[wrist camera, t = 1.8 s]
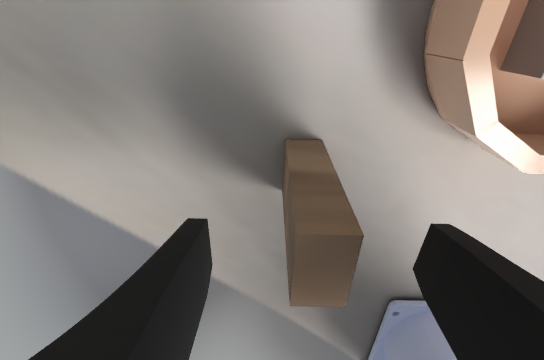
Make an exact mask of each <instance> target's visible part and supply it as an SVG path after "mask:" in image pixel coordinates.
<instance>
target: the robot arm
mask: <svg viewBox="0 0 544 360" xmlns="http://www.w3.org/2000/svg"><path fill="white" fill-rule="evenodd" d="M211 270H212V257H211V248H210V238H209V229H208V220H207V219H194V218H188V219H187V220H186V221H185V222H184V223H183V224H182V225H181V226H180V227H179V228H178V229H177V230H176V231H175V233H174V234H173V235H172V236H171V237H170V238H169V239H168V240H167V241H166V242H165V243H164V244H163V245H162V246H161V247H160V248H159V249H158V250H157V251H156V252H155V253H154V254H153V256H152V257H150V259H148V260H147V261H146V263H144V264H143V265H142V267H140V268H139V269H138V270H137V271H136V272H135V273H134V274H133V275H132V276H131V277H130V278H129V279H128V280H127V281H125V282H124V283H123V284H122V285H121V286H120V287H119V288H118V289H117V290H116V291H115V292H114V293H112V294H111V295H110V296H109V297H108V298H107V299H106V300H105V301H103V302H102V303H101V304H100V305H99V306H98V307H96V308H95V309H94V310H93V311H91V312H90V313H89V314H88V315H87V316H85V317H84V318H83V319H82V320H80V321H79V322H78V323H77V324H75V325H74V326H73V327H72V328H70V329H69V330H68V331H67V332H66V333H64V334H63V335H61V336H60V337H59V338H57V339H56V340H55V341H54V342H52V343H51V344H49V345H48V346H46V347H45V348H44V349H43V350H41V351H40V352H38V353H37V354H35V355H34V356H33V357H31V358H30V359H29V360H189V357H190V353H191V350H192V346H193V343H194V339H195V336H196V332H197V329H198V326H199V322H200V319H201V315H202V312H203V308H204V305H205V301H206V298H207V293H208V288H209V282H210V276H211ZM413 271H414V274H415V276H416V279H417V282H418V285H419V287H420V290H421V292H422V294H423V297H424V299H425V301H409V300H395V301H392V302H390V303H389V305H388V308H387V310H386V313H385V316H384V318H383V321H382V324H381V326H380V329H379V332H378V334H377V337H376V340H375V342H374V345H373V348H372V350H371V353H370V356H369V358H368V360H544V282H543V281H542V280H540V279H538V278H537V277H535V276H534V275H532V274H530V273H529V272H527V271H525V270H524V269H522V268H521V267H519V266H517V265H516V264H514V263H513V262H511V261H509V260H508V259H506V258H505V257H503V256H502V255H500V254H498V253H497V252H495V251H494V250H492V249H490V248H489V247H487V246H486V245H484V244H483V243H481V242H479V241H478V240H476V239H474V238H473V237H471V236H470V235H468V234H466V233H465V232H463V231H461V230H459V229H458V228H456V227H454V226H452V225H450V224H431V225H430V227H429V230H428V232H427V235H426V237H425V240H424V242H423V245H422V247H421V250H420V252H419V254H418V257H417V259H416V262H415V264H414V267H413Z"/></svg>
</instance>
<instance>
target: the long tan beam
mask: <svg viewBox="0 0 544 360" xmlns="http://www.w3.org/2000/svg"><path fill="white" fill-rule="evenodd" d="M282 193H283V208H284V224H285V239H286V254H287V270H288V285H289V300H290V306H321V307H346V303H347V299H348V295H349V291H350V287H351V283H352V280H353V276H354V272H355V268H356V264H357V260H358V256H359V252H360V248H361V244H362V241H363V237H364V235H363V233H362V230H361V228H360V226H359V224H358V221H357V219H356V217H355V214H354V212H353V210H352V208H351V205H350V203H349V201H348V198H347V196H346V194H345V191H344V189H343V187H342V185H341V182H340V180H339V178H338V175H337V173H336V171H335V169H334V166H333V164H332V162H331V159H330V157H329V155H328V153H327V150H326V148H325V146H324V143H323V141H322V140H305V139H285V155H284V172H283V188H282Z"/></svg>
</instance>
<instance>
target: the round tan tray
mask: <svg viewBox="0 0 544 360" xmlns="http://www.w3.org/2000/svg"><path fill="white" fill-rule="evenodd" d="M424 69H425V75H426V81H427V86H428V89H429V92H430V95H431V98H432V100H433V102H434V104H435V106H436V108H437V110H438V111H439V115H440V117H441V118H442V119H444V120H445V121H446V122H448V123H449V124H450V125H451V126H452V127H453V128H454V129H455V130H457V131H459V132H460V133H462V134H463V135H465V136H466V137H468V138H469V139H470V140H472V141H473V142H474V143H476V144H477V145H478V146H480V147H481V148H482V149H484V150H486V151H487V152H489V153H491V154H492V155H494V156H496V157H497V158H499V159H501V160H503V161H504V162H506V163H508V164H509V165H511V166H513V167H514V168H516V169H518V170H520V171H521V172H523V173H529V174H544V0H434V2H433V5H432V8H431V11H430V15H429V20H428V25H427V29H426V36H425V46H424Z"/></svg>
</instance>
